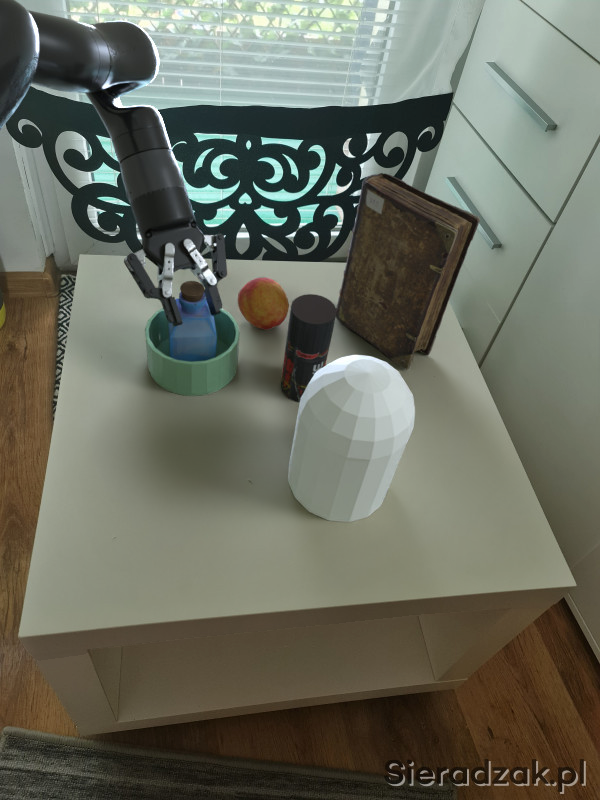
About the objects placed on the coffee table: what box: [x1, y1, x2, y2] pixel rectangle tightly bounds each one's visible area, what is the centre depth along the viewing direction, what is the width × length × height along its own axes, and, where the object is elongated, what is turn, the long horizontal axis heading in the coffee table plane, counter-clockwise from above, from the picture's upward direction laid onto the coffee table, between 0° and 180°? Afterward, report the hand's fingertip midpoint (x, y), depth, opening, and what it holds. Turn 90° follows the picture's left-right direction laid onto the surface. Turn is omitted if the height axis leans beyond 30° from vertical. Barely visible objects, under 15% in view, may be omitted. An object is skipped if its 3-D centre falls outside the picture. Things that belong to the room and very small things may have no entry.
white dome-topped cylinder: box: [287, 354, 416, 523], centre depth 73 cm, size 13×13×20 cm
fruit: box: [237, 276, 290, 331], centre depth 96 cm, size 8×8×8 cm
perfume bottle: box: [168, 280, 217, 362], centre depth 85 cm, size 6×6×12 cm
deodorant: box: [279, 293, 337, 403], centre depth 85 cm, size 6×6×15 cm
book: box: [335, 172, 481, 371], centre depth 91 cm, size 17×7×25 cm, turn 42°
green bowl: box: [144, 307, 241, 397], centre depth 89 cm, size 13×13×6 cm
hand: (197, 319), depth 83 cm, fingers closed on perfume bottle, 5 cm apart
